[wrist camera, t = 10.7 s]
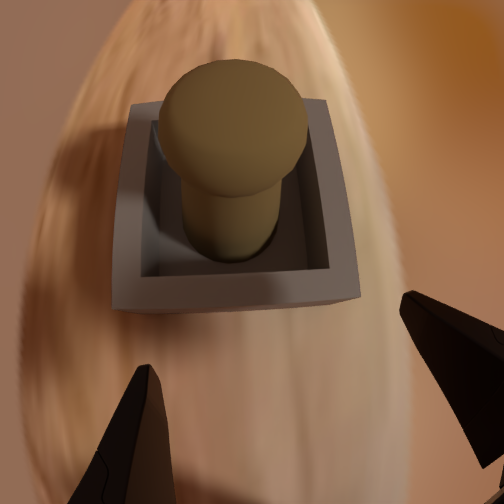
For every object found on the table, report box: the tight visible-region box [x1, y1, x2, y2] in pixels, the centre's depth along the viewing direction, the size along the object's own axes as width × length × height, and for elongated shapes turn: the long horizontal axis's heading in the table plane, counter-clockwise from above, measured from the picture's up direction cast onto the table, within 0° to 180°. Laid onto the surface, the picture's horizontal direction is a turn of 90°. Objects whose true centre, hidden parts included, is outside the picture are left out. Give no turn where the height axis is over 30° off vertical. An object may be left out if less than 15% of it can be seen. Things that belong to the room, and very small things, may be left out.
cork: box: [158, 59, 308, 264], centre depth 14 cm, size 6×6×11 cm
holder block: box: [112, 98, 361, 314], centre depth 18 cm, size 12×12×5 cm
